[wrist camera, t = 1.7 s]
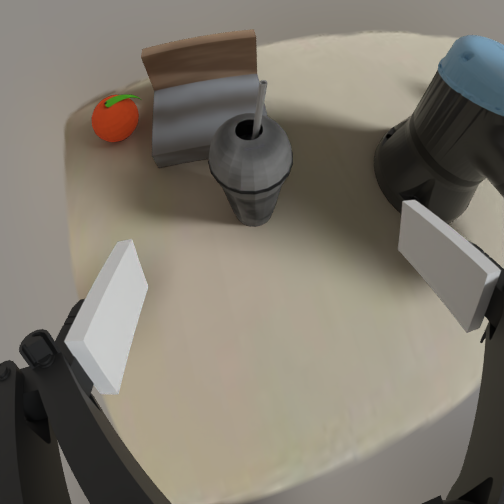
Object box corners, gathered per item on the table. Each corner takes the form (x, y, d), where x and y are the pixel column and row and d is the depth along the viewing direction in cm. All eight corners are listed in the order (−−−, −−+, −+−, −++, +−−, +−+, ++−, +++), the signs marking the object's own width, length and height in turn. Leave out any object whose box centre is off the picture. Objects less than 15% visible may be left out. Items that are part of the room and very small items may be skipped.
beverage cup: (214, 195, 38) (176, 74, 18) (268, 173, 38) (272, 44, 19) (237, 247, 36) (211, 148, 16) (294, 222, 36) (325, 109, 17)
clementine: (145, 104, 42) (131, 73, 35) (156, 133, 40) (141, 102, 34) (99, 128, 41) (80, 100, 35) (107, 158, 40) (86, 131, 33)
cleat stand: (160, 95, 43) (142, 49, 33) (255, 79, 43) (253, 29, 33) (158, 167, 39) (133, 122, 29) (271, 149, 39) (273, 98, 29)
